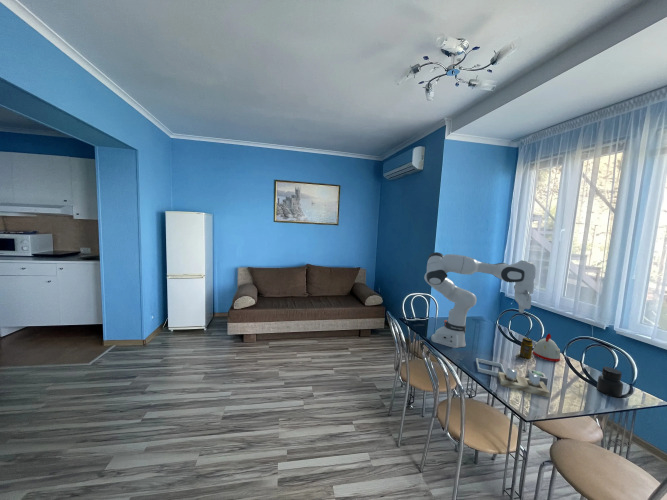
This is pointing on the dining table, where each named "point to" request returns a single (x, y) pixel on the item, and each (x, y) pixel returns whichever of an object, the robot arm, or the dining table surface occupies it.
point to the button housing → (542, 379)
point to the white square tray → (489, 364)
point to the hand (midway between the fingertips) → (521, 312)
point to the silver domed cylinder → (511, 375)
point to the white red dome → (547, 349)
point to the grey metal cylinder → (534, 380)
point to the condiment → (526, 349)
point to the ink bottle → (610, 382)
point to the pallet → (523, 385)
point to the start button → (537, 373)
